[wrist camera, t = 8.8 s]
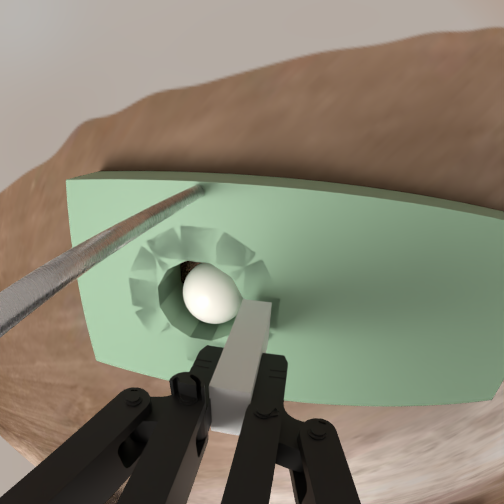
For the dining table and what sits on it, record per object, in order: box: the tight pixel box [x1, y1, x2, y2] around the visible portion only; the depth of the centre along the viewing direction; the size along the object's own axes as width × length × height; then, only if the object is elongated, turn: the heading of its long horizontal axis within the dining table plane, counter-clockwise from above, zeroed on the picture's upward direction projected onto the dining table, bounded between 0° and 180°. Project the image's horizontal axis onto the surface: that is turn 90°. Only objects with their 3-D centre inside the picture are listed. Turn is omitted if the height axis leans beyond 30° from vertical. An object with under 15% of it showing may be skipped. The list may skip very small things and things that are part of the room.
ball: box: [183, 263, 244, 324], centre depth 20 cm, size 4×4×4 cm
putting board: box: [66, 171, 504, 406], centre depth 19 cm, size 32×14×4 cm, turn 87°
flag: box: [0, 185, 205, 337], centre depth 9 cm, size 5×1×16 cm, turn 87°
